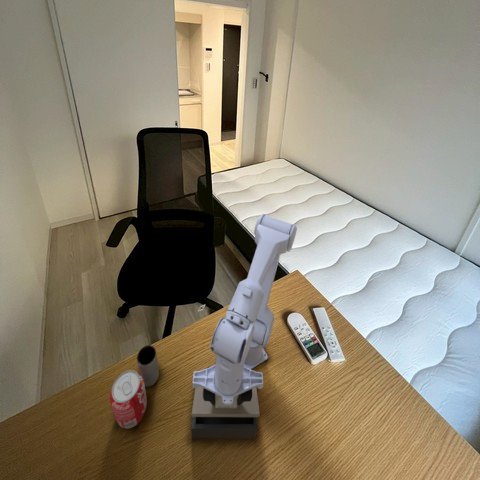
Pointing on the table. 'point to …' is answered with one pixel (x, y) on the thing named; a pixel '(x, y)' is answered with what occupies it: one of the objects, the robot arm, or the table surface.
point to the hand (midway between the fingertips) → (226, 399)
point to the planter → (148, 365)
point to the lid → (224, 406)
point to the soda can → (128, 399)
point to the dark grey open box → (224, 427)
